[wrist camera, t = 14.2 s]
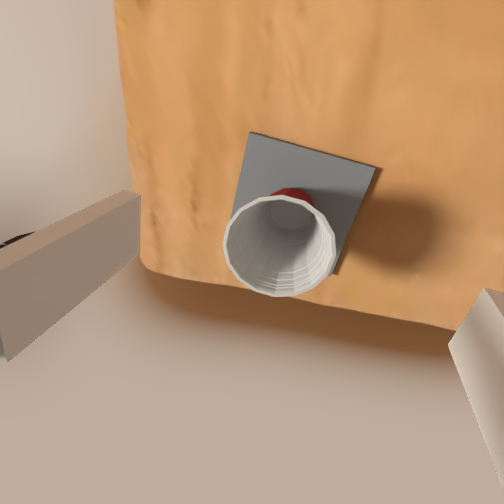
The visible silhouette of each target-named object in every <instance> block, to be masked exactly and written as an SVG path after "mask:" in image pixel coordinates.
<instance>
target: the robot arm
mask: <svg viewBox="0 0 504 504" xmlns="http://www.w3.org/2000/svg"><path fill="white" fill-rule="evenodd" d="M140 211H141V195H140V194H136V193H133V192H129V191H125V190H123V191H121V192H118V193H116V194H114V195H112V196H110V197H108V198H106V199H104V200H102V201H100V202H97V203H95V204H93V205H91V206H89V207H87V208H85V209H83V210H81V211H78V212H77V213H74V214H72V215H70V216H68V217H66V218H64V219H62V220H60V221H58V222H55V223H54V224H51V225H49V226H47V227H45V228H43V229H41V230H39V231H37V232H32V233H28V234H24V235H20V236H17V237H15V238H12V239H10V240H8V241H6V242H4V243H2V245H0V360H2V361H5V362H9V361H10V360H11V359H12V358H13V357H15V356H16V355H17V354H18V353H20V352H21V351H22V350H23V349H24V348H26V347H27V346H28V345H29V344H30V343H32V342H33V341H34V340H35V339H37V338H38V337H39V336H40V335H41V334H43V333H44V332H45V331H46V330H47V329H48V328H50V327H51V326H52V325H54V324H55V323H56V322H57V321H59V320H60V319H61V318H62V317H63V316H65V315H66V314H67V313H68V312H69V311H71V310H72V309H73V308H74V307H75V306H77V305H78V304H79V303H80V302H81V301H83V300H84V299H85V298H86V297H88V296H89V295H90V294H91V293H93V292H94V291H95V290H96V289H97V288H98V287H100V286H101V285H102V284H103V283H105V282H106V281H107V280H108V279H110V278H111V277H112V276H113V275H114V274H116V273H117V272H118V271H119V270H121V269H122V268H123V267H124V266H125V265H127V264H128V263H129V262H130V261H132V260H133V259H134V258H135V257H136V256H138V255H139V254H140ZM448 346H449V349H450V352H451V355H452V357H453V360H454V362H455V365H456V368H457V370H458V373H459V375H460V378H461V381H462V383H463V386H464V388H465V391H466V394H467V396H468V399H469V402H470V404H471V407H472V409H473V412H474V415H475V417H476V420H477V422H478V425H479V428H480V430H481V433H482V435H483V438H484V441H485V443H486V446H487V449H488V451H489V454H490V456H491V459H492V461H493V464H494V467H495V469H496V472H497V475H498V477H499V480H500V482H501V485H502V488H503V490H504V293H502V292H498V291H495V290H491V289H487V288H483V290H482V292H481V293H480V295H479V296H478V298H477V299H476V301H475V303H474V304H473V306H472V307H471V309H470V311H469V312H468V314H467V315H466V317H465V319H464V320H463V322H462V323H461V325H460V326H459V328H458V330H457V331H456V333H455V335H454V336H453V338H452V339H451V341H450V342H449V344H448Z"/></svg>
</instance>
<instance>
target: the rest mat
mask: <svg viewBox="0 0 504 504" xmlns="http://www.w3.org/2000/svg"><path fill="white" fill-rule="evenodd" d="M375 169H376V168H375V167H373V166H370V165H366V164H363V163H359V162H356V161H352V160H349V159H345V158H342V157H338V156H335V155H331V154H328V153H324V152H321V151H317V150H313V149H310V148H306V147H303V146H299V145H296V144H292V143H289V142H285V141H282V140H278V139H275V138H271V137H268V136H264V135H261V134H257V133H254V132H249V135H248V140H247V145H246V149H245V154H244V159H243V163H242V168H241V173H240V177H239V182H238V187H237V191H236V196H235V201H234V206H233V210H232V215H231V219H232V217H233V216H234V215H235V213H236V212H237V211H238V209H239V208H241V207H243V206H245V205H246V204H248V203H250V202H252V201H254V200H255V199H257V198H259V197H267V196H269V195H271V194H273V193H274V192H276V191H279V190H281V189H282V188H292V187H293V188H296V189H299V190H302V191H303V192H305V193H306V194H307V195H309V196H310V198H311V200H312V202H313V203H314V206H315V208H316V210H318V211H319V212H320V213H322V214H323V215H324V216H325V218H326V220H327V221H328V223H329V225H330V227H331V229H332V231H333V232H334V234H335V246H336V257H335V259H334V262H333V264H332V267H331V269H330V272H329V274H328V276H331V275H332V272H333V270H334V267H335V265H336V263H337V260H338V258H339V255H340V253H341V251H342V248H343V246H344V243H345V241H346V239H347V236H348V234H349V231H350V229H351V227H352V224H353V222H354V219H355V217H356V215H357V212H358V210H359V207H360V205H361V202H362V200H363V198H364V195H365V193H366V190H367V188H368V186H369V183H370V181H371V178H372V176H373V174H374V171H375Z"/></svg>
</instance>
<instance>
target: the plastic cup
mask: <svg viewBox="0 0 504 504" xmlns="http://www.w3.org/2000/svg"><path fill="white" fill-rule="evenodd" d="M223 249H224V254H225V258H226V262H227V265H228V266H229V268H230V269H231V270H232V272H233V273H234V275H235V276H236V278H237V279H238V280H239V281H240V282H242V283H243V284H245V285H246V286H248V287H249V288H251V289H252V290H254V291H255V292H259V293H262V294H266V295H270V296H273V297H283V296H296V295H299V294H301V293H303V292H306V291H308V290H311V289H313V288H315V287H316V286H317V285H318V284H319V283H320V282H321V281H322V280H323V279H324V278H325V277H326V276H327V275H328V274H329V272H330V269H331V267H332V264H333V262H334V259H335V257H336V246H335V234H334V232H333V231H332V229H331V227H330V225H329V223H328V221H327V220H326V218H325V216H324V215H323V214H322V213H320V212H319V211H318V210H316V208H315V206H314V203H313V202H312V200H311V198H310V196H309V195H307V194H306V193H305V192H303V191H302V190H299V189H296V188H293V187H292V188H282V189H281V190H279V191H276V192H274V193H273V194H271V195H269V196H267V197H259V198H257V199H255V200H254V201H252V202H250V203H248V204H246V205H245V206H243V207H241V208H239V209H238V211H237V212H236V213H235V215H234V216H233V217H232V219H231V220H230V221H229V223H228V224H227V226H226V230H225V235H224V240H223Z"/></svg>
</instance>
